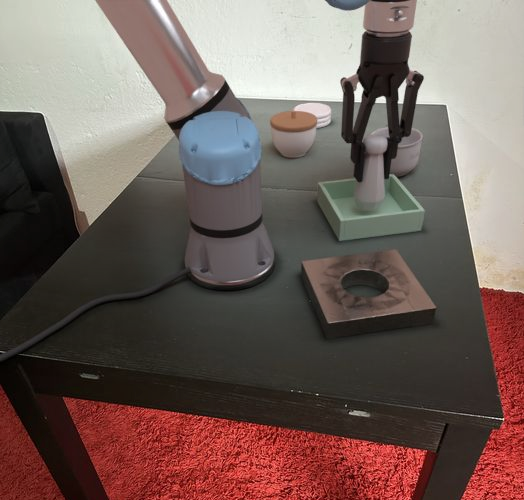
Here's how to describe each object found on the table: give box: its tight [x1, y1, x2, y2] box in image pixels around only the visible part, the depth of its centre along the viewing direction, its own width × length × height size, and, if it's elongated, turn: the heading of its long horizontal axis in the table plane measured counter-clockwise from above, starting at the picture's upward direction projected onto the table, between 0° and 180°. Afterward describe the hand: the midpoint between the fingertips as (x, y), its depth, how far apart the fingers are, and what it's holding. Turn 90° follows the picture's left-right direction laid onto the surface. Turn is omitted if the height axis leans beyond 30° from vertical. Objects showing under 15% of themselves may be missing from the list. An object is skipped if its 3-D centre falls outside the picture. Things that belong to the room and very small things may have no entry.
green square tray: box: [316, 174, 426, 242], centre depth 100 cm, size 16×16×4 cm
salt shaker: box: [354, 134, 388, 211], centre depth 95 cm, size 6×6×13 cm
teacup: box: [369, 123, 424, 178], centre depth 113 cm, size 14×11×8 cm
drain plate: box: [300, 248, 437, 340], centre depth 81 cm, size 16×16×3 cm
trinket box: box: [269, 110, 318, 159], centre depth 121 cm, size 11×11×9 cm
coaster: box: [292, 102, 332, 129], centre depth 137 cm, size 10×10×4 cm
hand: (371, 177), depth 96 cm, fingers closed on salt shaker, 4 cm apart
